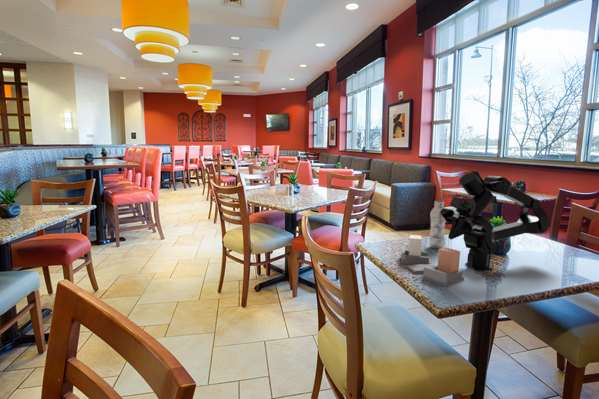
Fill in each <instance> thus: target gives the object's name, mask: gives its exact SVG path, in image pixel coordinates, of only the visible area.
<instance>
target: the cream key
mask: <svg viewBox="0 0 599 399" xmlns="http://www.w3.org/2000/svg"><path fill="white" fill-rule="evenodd" d="M408 238H409V240H408V250H409V255H413V256H421V251H422V243H423V239H422V235H418V234H417V235H416V234H410V235H409V237H408Z"/></svg>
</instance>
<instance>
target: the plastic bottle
mask: <svg viewBox="0 0 599 399" xmlns="http://www.w3.org/2000/svg"><path fill="white" fill-rule="evenodd" d="M433 206H434V207H433V208H432V209H431V211H430V213H429V214H430V216H429V217H430V231H429V238H428V246H429V247H430V248H432V249H436V250H437V249H438V250H439V249H442V248H445V246H446V245H445V244H446V240H445V239H446V238H445V227H446V220H445V219H444V218H443V217H442V215H441V214H440V211H441V210H442V209H443V208H444V207H445V201H443V200H434V204H433Z"/></svg>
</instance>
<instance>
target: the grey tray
mask: <svg viewBox="0 0 599 399" xmlns="http://www.w3.org/2000/svg"><path fill="white" fill-rule="evenodd" d="M400 263H401V264H402V265H403V264H405V265H406V266H405V268H406V269H407V270H408V271H410V272H411V273H412V274H415V275H418V274H423V275H422V277H421V278H422V280H425V281H428V282H430V283H433V284H434V285H435V284H436V285H438V286H441V287H444V288H446V287H448V286H451V285H454V284H457V283H460V282H462V281H464V280H465V276H463V271H462V270H460V269H459V271H456V272H453V273H451V274H448V273H445V272H442V271H439V270H437V266H438V265H436V264H434V263H433V262H432V259H431V256H428V251H424V250H423V251H422V250H421V256H413V255H409V249H406V248H405V247H404V246H402V247H401V254H400ZM447 274H448V275H447Z"/></svg>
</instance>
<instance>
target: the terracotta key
mask: <svg viewBox="0 0 599 399" xmlns="http://www.w3.org/2000/svg"><path fill="white" fill-rule="evenodd" d="M460 257H461V251H460V250H458V249H454V248H449V247H443V248H442V249H438V255H437V265H436V266H437V270H439V271H442V272H445V273H448V274H451V273H453V272H456V271H459V270H460V261H461V260H460V259H461V258H460ZM448 274H447V275H448Z"/></svg>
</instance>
